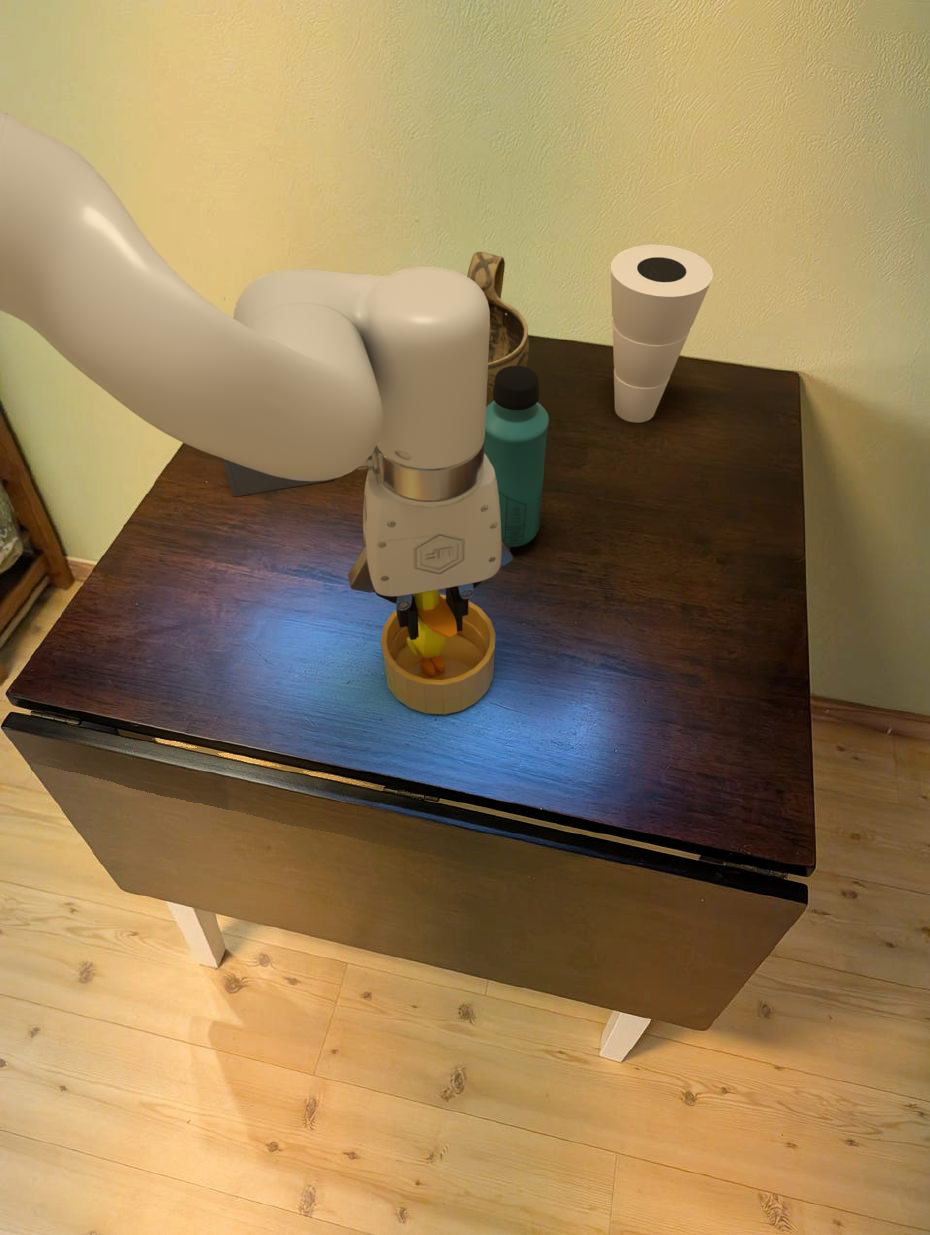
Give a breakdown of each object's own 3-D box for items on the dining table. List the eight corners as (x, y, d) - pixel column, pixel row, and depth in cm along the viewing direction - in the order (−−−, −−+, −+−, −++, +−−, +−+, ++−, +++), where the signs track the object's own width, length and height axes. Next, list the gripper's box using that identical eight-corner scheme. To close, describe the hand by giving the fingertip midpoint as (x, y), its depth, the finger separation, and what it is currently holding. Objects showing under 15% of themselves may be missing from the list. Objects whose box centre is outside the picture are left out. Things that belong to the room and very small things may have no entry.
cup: (619, 447, 98) (645, 305, 84) (575, 396, 104) (592, 256, 90) (696, 424, 101) (733, 283, 87) (648, 375, 107) (676, 236, 93)
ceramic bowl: (488, 481, 94) (492, 365, 83) (352, 445, 98) (337, 329, 87) (549, 372, 108) (560, 258, 96) (427, 343, 111) (423, 232, 100)
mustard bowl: (397, 726, 74) (393, 694, 70) (376, 639, 80) (371, 605, 76) (506, 703, 76) (508, 670, 72) (477, 619, 82) (478, 585, 78)
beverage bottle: (550, 530, 90) (568, 368, 74) (519, 569, 86) (531, 407, 70) (497, 507, 92) (505, 345, 76) (465, 544, 88) (465, 382, 73)
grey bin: (233, 497, 93) (221, 454, 88) (225, 434, 100) (213, 391, 95) (334, 480, 94) (327, 437, 90) (320, 419, 101) (313, 377, 97)
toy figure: (469, 684, 76) (471, 597, 67) (435, 702, 75) (433, 616, 66) (430, 634, 80) (426, 546, 70) (397, 651, 78) (389, 563, 69)
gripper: (318, 510, 54) (344, 676, 69) (559, 472, 57) (536, 638, 71) (303, 438, 59) (330, 607, 73) (527, 406, 62) (511, 575, 76)
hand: (432, 621), depth 72 cm, fingers closed on toy figure, 3 cm apart
